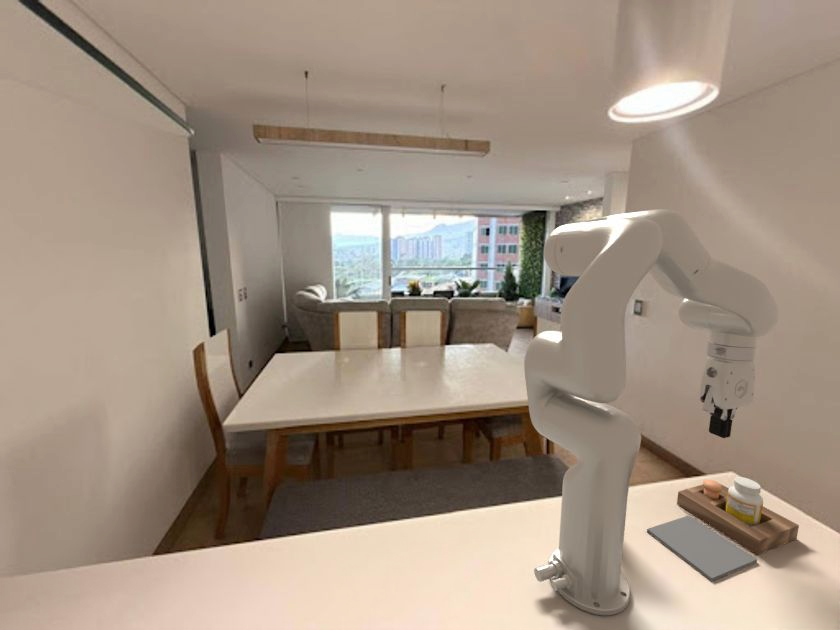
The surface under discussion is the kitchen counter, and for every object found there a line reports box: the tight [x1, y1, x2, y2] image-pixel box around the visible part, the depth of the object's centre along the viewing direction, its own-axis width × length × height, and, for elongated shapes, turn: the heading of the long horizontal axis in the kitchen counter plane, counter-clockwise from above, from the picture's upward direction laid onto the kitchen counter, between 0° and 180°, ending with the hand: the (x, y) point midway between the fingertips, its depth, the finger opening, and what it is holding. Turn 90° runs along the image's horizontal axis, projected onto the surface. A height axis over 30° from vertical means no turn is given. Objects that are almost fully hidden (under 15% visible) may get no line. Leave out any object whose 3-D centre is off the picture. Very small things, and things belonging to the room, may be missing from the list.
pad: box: [646, 515, 758, 582], centre depth 68 cm, size 12×12×1 cm
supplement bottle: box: [725, 476, 764, 527], centre depth 73 cm, size 5×5×10 cm
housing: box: [676, 482, 800, 556], centre depth 75 cm, size 12×15×3 cm
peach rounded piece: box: [702, 479, 723, 501], centre depth 79 cm, size 3×3×4 cm
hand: (719, 434), depth 77 cm, fingers closed
